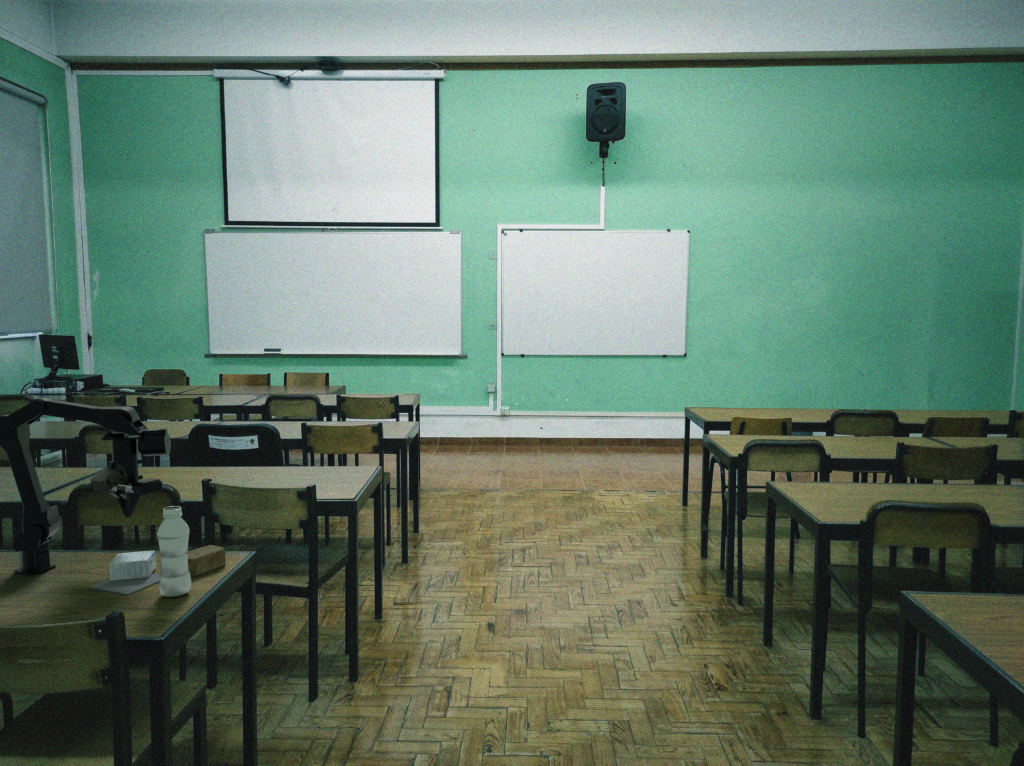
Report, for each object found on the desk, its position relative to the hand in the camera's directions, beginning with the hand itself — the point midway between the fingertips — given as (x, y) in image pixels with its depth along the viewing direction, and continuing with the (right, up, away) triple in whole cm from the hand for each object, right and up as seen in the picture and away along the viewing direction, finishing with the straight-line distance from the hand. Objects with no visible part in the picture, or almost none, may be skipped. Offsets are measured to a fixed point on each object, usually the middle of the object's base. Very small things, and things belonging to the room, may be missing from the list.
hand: (128, 517), depth 178 cm
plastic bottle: (+22, -14, -20) cm, 33 cm away
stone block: (+20, -13, -4) cm, 24 cm away
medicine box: (+1, -10, -9) cm, 14 cm away
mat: (+8, -13, -13) cm, 20 cm away
